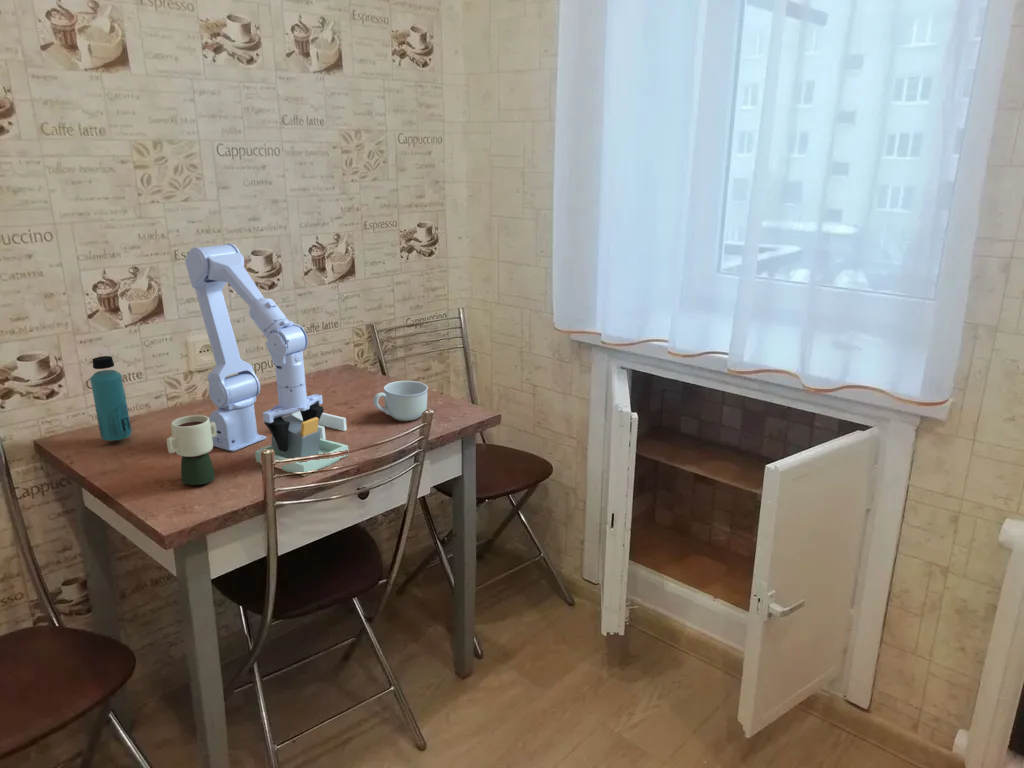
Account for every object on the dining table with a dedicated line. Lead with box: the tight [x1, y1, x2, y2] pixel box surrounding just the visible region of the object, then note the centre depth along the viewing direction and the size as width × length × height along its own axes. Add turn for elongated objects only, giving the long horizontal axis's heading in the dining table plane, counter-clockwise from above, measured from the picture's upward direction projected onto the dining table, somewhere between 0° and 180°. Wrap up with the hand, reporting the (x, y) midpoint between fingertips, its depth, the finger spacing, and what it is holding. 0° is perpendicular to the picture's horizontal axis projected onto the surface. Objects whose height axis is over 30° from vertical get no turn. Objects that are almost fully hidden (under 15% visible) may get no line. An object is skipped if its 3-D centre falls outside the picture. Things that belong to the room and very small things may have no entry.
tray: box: [254, 438, 350, 473], centre depth 157 cm, size 13×15×2 cm
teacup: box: [372, 380, 429, 422], centre depth 181 cm, size 14×11×8 cm
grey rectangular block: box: [270, 415, 321, 463], centre depth 156 cm, size 5×9×9 cm, turn 58°
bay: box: [290, 411, 347, 440], centre depth 173 cm, size 8×10×6 cm
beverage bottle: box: [89, 355, 133, 442], centre depth 165 cm, size 6×7×20 cm
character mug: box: [166, 414, 217, 486], centre depth 145 cm, size 11×7×13 cm, turn 150°
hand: (297, 444), depth 157 cm, fingers open, 7 cm apart
